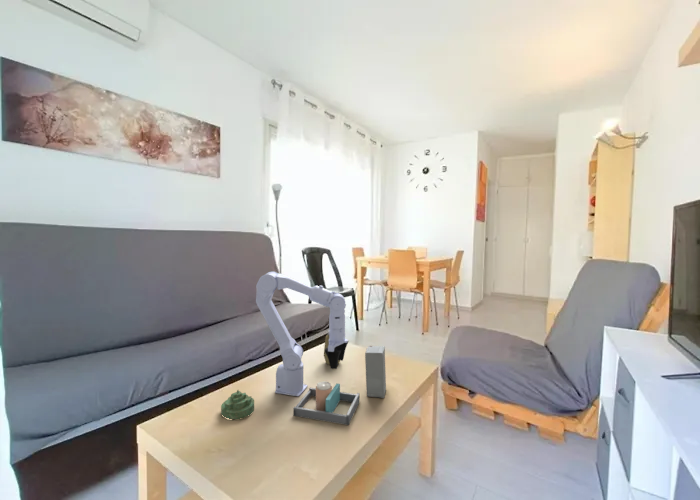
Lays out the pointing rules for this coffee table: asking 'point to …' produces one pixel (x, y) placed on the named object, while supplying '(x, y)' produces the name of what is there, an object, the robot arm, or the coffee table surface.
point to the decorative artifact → (237, 406)
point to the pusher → (333, 398)
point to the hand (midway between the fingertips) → (337, 364)
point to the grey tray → (327, 415)
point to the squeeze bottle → (327, 347)
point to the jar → (322, 395)
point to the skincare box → (375, 371)
